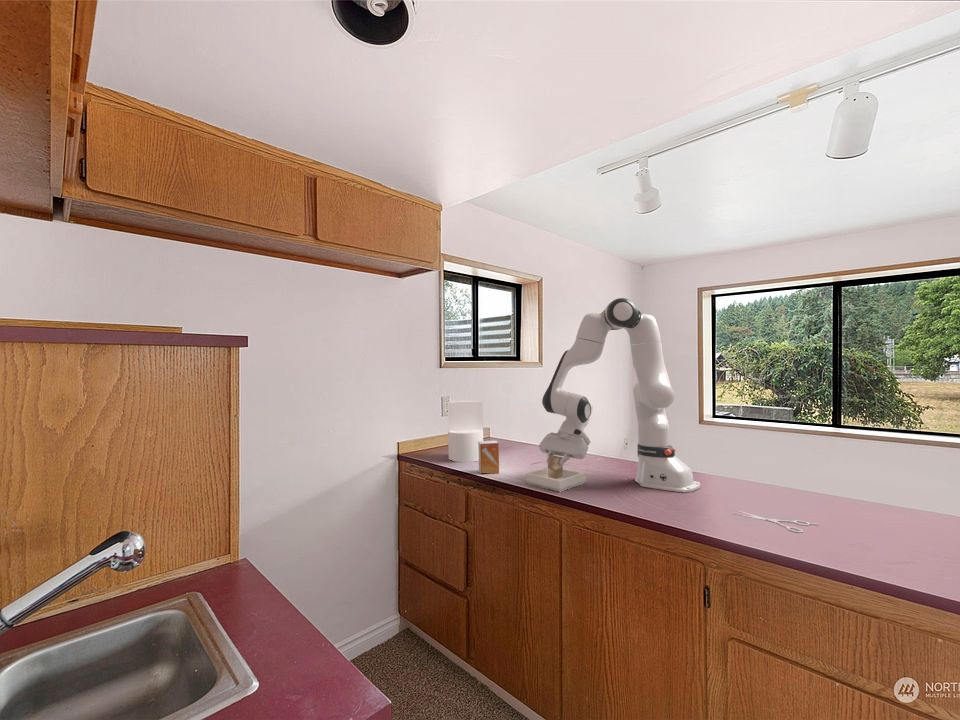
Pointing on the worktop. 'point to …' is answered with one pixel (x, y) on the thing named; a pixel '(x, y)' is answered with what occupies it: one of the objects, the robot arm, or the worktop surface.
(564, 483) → the bin
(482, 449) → the small box
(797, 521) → the scissors
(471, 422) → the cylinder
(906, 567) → the worktop surface
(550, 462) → the beech block
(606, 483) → the worktop surface
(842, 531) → the worktop surface
